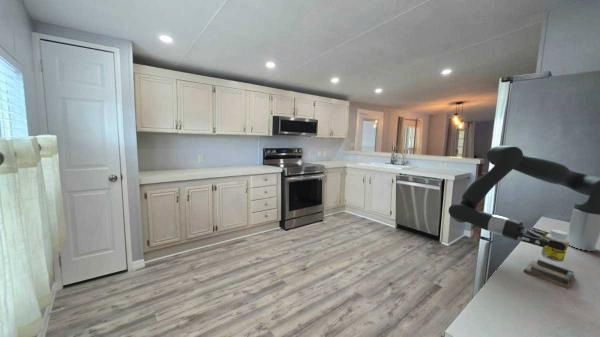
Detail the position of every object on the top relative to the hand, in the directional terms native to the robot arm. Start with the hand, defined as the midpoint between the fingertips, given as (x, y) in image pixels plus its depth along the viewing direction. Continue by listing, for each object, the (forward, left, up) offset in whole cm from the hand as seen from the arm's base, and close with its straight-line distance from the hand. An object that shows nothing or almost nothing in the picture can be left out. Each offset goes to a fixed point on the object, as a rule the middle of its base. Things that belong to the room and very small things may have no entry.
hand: (566, 246), depth 81 cm
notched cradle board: (0, -2, -12) cm, 13 cm away
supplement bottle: (0, -3, -6) cm, 7 cm away
